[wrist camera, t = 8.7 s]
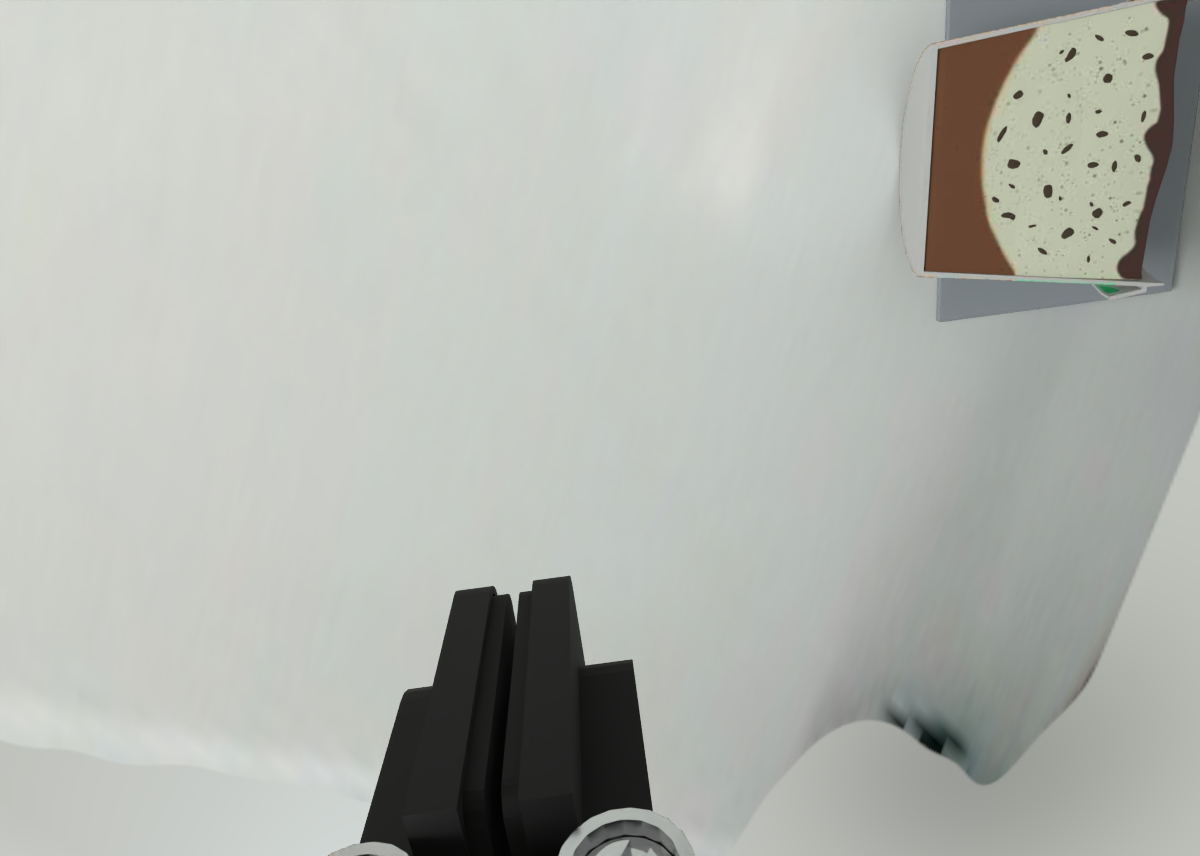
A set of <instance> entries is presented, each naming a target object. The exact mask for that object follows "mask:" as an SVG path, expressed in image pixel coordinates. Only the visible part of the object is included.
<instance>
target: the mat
mask: <svg viewBox="0 0 1200 856" xmlns="http://www.w3.org/2000/svg"><path fill="white" fill-rule="evenodd" d="M1126 1H1127V0H946V32H945V41H946V40H951V39H956V38H960V37H965V36H970V35H975V34H979V33H984V32H989V31H993V30H998V29H1003V28H1007V27H1012V26H1017V25H1021V24H1026V23H1031V22H1035V21H1040V20H1045V19H1050V18H1054V17H1059V16H1064V15H1068V14H1073V13H1078V12H1082V11H1087V10H1092V9H1096V8H1101V7H1106V6H1110V5H1115V4H1120V3H1124V2H1126ZM1199 89H1200V0H1193V1H1191V2H1190V3H1189V4H1188V5H1187V6H1186V11H1185V20H1184V24H1183V27H1182V31H1181V35H1180V39H1179V46H1178V53H1177V60H1176V67H1175V75H1174V132H1173V144H1172V150H1171V153H1170V157H1169V160H1168V164H1167V168H1166V171H1165V174H1164V177H1163V180H1162V183H1161V185H1160V188H1159V191H1158V194H1157V197H1156V201H1155V205H1154V208H1153V212H1152V216H1151V219H1150V224H1149V230H1148V236H1147V242H1146V248H1145V253H1144V259H1143V265H1142V266H1143V268H1144V269H1145V270H1146V271H1147V272H1148V273H1149V274H1150V275H1151V276H1152V277H1154V278H1155V279H1157V280H1159V281H1161V282H1162V283H1164V285H1163V286H1152V287H1147V290H1146V292H1145V293H1140V294H1136V295H1131V296H1138V295H1146V294H1153V293H1160V292H1168V291H1171V288H1172V281H1173V274H1174V267H1175V260H1176V253H1177V245H1178V238H1179V231H1180V224H1181V217H1182V210H1183V203H1184V196H1185V189H1186V182H1187V174H1188V167H1189V160H1190V153H1191V146H1192V139H1193V132H1194V125H1195V118H1196V111H1197V103H1198V96H1199ZM1131 296H1127V297H1131ZM1101 300H1108V299H1107V298H1105V297H1104V296H1102V295H1101V294H1100V293H1099V292H1098V291H1097V290H1096V289H1095V288H1094V287H1093V286H1092V285H1091V284H1077V283H1053V282H1030V281H1006V280H983V279H959V278H938V285H937V316H936V320H937V321H939V322H944V321H952V320H959V319H967V318H974V317H982V316H989V315H997V314H1004V313H1011V312H1019V311H1026V310H1034V309H1041V308H1049V307H1056V306H1064V305H1071V304H1079V303H1086V302H1093V301H1101Z"/></svg>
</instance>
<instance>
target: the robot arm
mask: <svg viewBox="0 0 1200 856" xmlns="http://www.w3.org/2000/svg"><path fill="white" fill-rule="evenodd" d="M328 856H695V854H694V851H693V848H692V846H691V845H690V843H689V841H688V839H687V838H686V836H685V834H684V833H683V831H682V830H681V829H680V828H679V827H677V826H676V825H675V824H674V823H673V822H672V821H671V820H669V819H668V818H666V817H664V816H662V815H659V814H657V813H655V812H653V809H652V802H651V795H650V787H649V780H648V772H647V765H646V757H645V750H644V742H643V735H642V728H641V720H640V713H639V705H638V698H637V690H636V683H635V675H634V668H633V661H632V660H624V661H617V662H609V663H602V664H594V665H587V666H585V661H584V655H583V648H582V642H581V636H580V630H579V624H578V617H577V611H576V605H575V599H574V592H573V587H572V581H571V577H570V576H564V577H557V578H549V579H542V580H534V581H533V585H532V591H527V592H520V594H519V603H518V613H517V624H516V621H515V616H514V611H513V605H512V601H511V597H510V595H509V594H505V595H497V592H496V589H495V587H494V586H490V587H482V588H475V589H467V590H460V591H456V592H455V595H454V598H453V603H452V607H451V611H450V615H449V619H448V624H447V628H446V632H445V636H444V640H443V645H442V649H441V653H440V657H439V661H438V666H437V670H436V674H435V678H434V682H433V686H430V687H422V688H415V689H408V690H407V691H406V692H405V693H404V695H403V697H402V699H401V702H400V706H399V709H398V713H397V716H396V720H395V723H394V727H393V730H392V734H391V737H390V740H389V744H388V747H387V751H386V754H385V758H384V761H383V765H382V768H381V772H380V775H379V779H378V782H377V786H376V789H375V792H374V796H373V799H372V803H371V806H370V810H369V813H368V817H367V820H366V824H365V827H364V831H363V834H362V838H361V841H360V844H354V845H351V846H348V847H346V848H343V849H341V850H338V851H336V852H333V853H331V854H330V855H328Z"/></svg>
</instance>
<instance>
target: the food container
mask: <svg viewBox="0 0 1200 856" xmlns="http://www.w3.org/2000/svg"><path fill="white" fill-rule="evenodd" d="M1191 1H1193V0H1127V1H1126V2H1124V3H1120V4H1115V5H1110V6H1106V7H1101V8H1096V9H1092V10H1087V11H1082V12H1078V13H1073V14H1068V15H1064V16H1059V17H1054V18H1050V19H1045V20H1040V21H1035V22H1031V23H1026V24H1021V25H1017V26H1012V27H1007V28H1003V29H998V30H993V31H989V32H984V33H979V34H975V35H970V36H965V37H960V38H956V39H951V40H946V41H942V42H937V43H932V44H931V45H929V46H928V47H927V48H926V49H925V50H924V52H923V53H922V55H921V57H920V59H919V61H918V63H917V66H916V69H915V71H914V74H913V78H912V81H911V85H910V89H909V93H908V98H907V103H906V109H905V115H904V122H903V129H902V139H901V151H900V171H899V202H900V214H901V227H902V234H903V240H904V245H905V251H906V255H907V257H908V260H909V263H910V266H911V268H912V270H913V272H914V273H915V274H916V275H917V276H918V277H936V278H959V279H983V280H1006V281H1030V282H1053V283H1077V284H1091V285H1092V286H1093V287H1094V288H1095V289H1096V290H1097V291H1098V292H1099V293H1100V294H1101V295H1102V296H1104V297H1105V298H1107V299H1108V300H1114V299H1118V298H1123V297H1127V296H1131V295H1136V294H1140V293H1145V292H1146V290H1147V287H1152V286H1163V285H1164V283H1162V282H1161V281H1159V280H1157V279H1155V278H1154V277H1152V276H1151V275H1150V274H1149V273H1148V272H1147V271H1146V270H1145V269H1144V268H1143V266H1142V265H1143V259H1144V253H1145V248H1146V242H1147V236H1148V230H1149V224H1150V219H1151V216H1152V212H1153V208H1154V205H1155V201H1156V197H1157V194H1158V191H1159V188H1160V185H1161V183H1162V180H1163V177H1164V174H1165V171H1166V168H1167V164H1168V160H1169V157H1170V153H1171V150H1172V144H1173V132H1174V75H1175V67H1176V60H1177V53H1178V46H1179V39H1180V35H1181V31H1182V27H1183V24H1184V20H1185V11H1186V6H1187V5H1188V4H1189V3H1190V2H1191Z"/></svg>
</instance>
